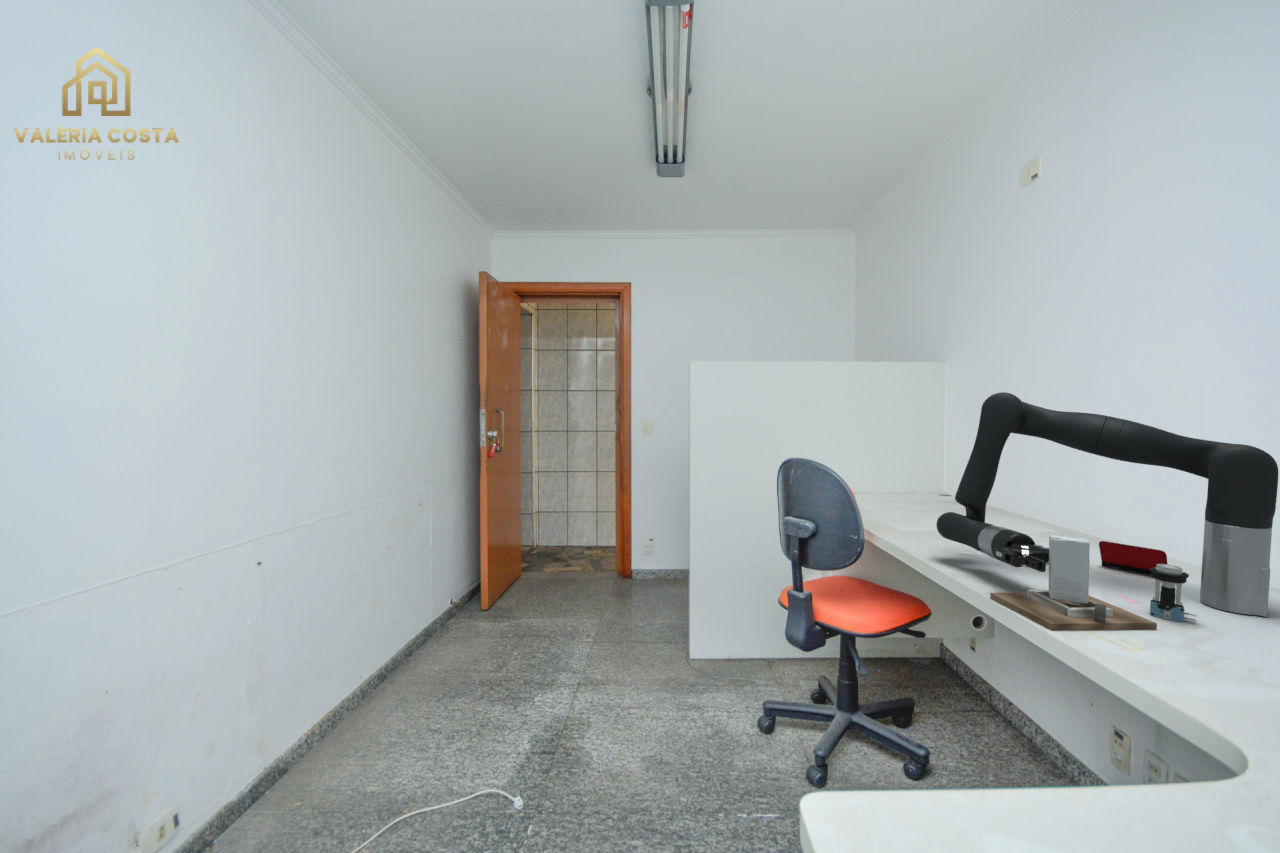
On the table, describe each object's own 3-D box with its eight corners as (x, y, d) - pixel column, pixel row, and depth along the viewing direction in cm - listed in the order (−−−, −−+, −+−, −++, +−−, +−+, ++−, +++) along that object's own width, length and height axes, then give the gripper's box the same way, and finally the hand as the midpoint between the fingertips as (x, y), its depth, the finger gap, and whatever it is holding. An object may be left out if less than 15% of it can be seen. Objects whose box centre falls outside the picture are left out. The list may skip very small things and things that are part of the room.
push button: (1194, 619, 104) (1197, 568, 104) (1197, 627, 100) (1200, 574, 100) (1147, 610, 109) (1150, 560, 108) (1147, 617, 105) (1150, 566, 104)
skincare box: (1085, 598, 107) (1088, 537, 106) (1088, 605, 103) (1091, 542, 103) (1046, 592, 110) (1049, 533, 110) (1048, 599, 106) (1051, 537, 106)
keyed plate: (1081, 598, 115) (1082, 578, 115) (1156, 629, 99) (1157, 606, 99) (990, 598, 114) (991, 578, 114) (1051, 630, 98) (1052, 607, 98)
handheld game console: (1175, 574, 133) (1176, 544, 133) (1164, 582, 127) (1166, 551, 127) (1109, 561, 144) (1110, 534, 143) (1096, 569, 137) (1098, 539, 137)
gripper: (976, 528, 123) (1031, 548, 107) (1036, 529, 124) (1100, 548, 107) (974, 561, 123) (1029, 585, 107) (1035, 561, 124) (1098, 585, 108)
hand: (1064, 567), depth 107 cm, fingers open, 8 cm apart
